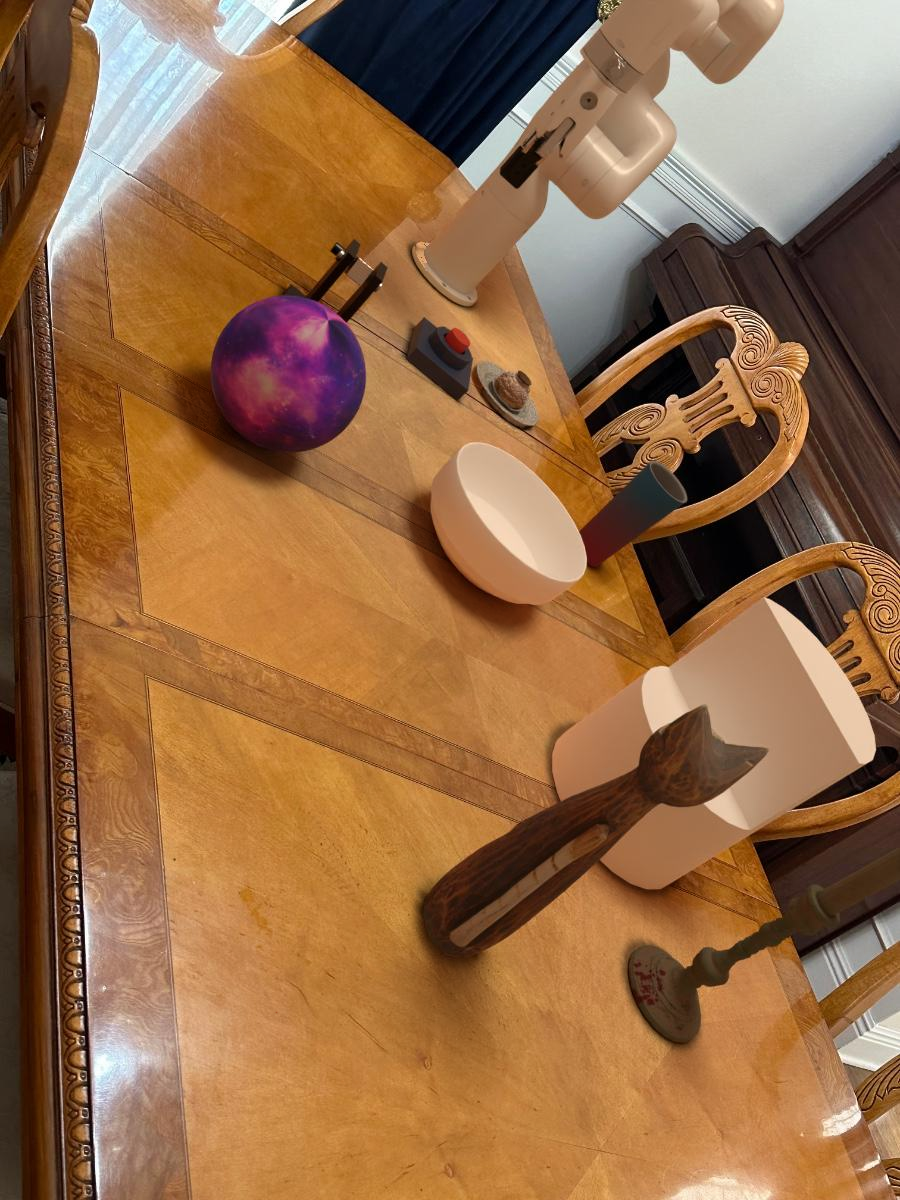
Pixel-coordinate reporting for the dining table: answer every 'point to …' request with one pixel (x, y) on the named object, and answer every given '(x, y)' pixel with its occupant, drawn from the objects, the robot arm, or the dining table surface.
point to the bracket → (335, 272)
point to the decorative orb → (288, 374)
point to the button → (457, 340)
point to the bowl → (505, 527)
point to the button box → (440, 358)
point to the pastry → (508, 393)
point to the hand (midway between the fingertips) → (508, 179)
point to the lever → (354, 267)
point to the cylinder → (724, 738)
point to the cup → (632, 512)
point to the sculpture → (577, 835)
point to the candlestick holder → (742, 950)
